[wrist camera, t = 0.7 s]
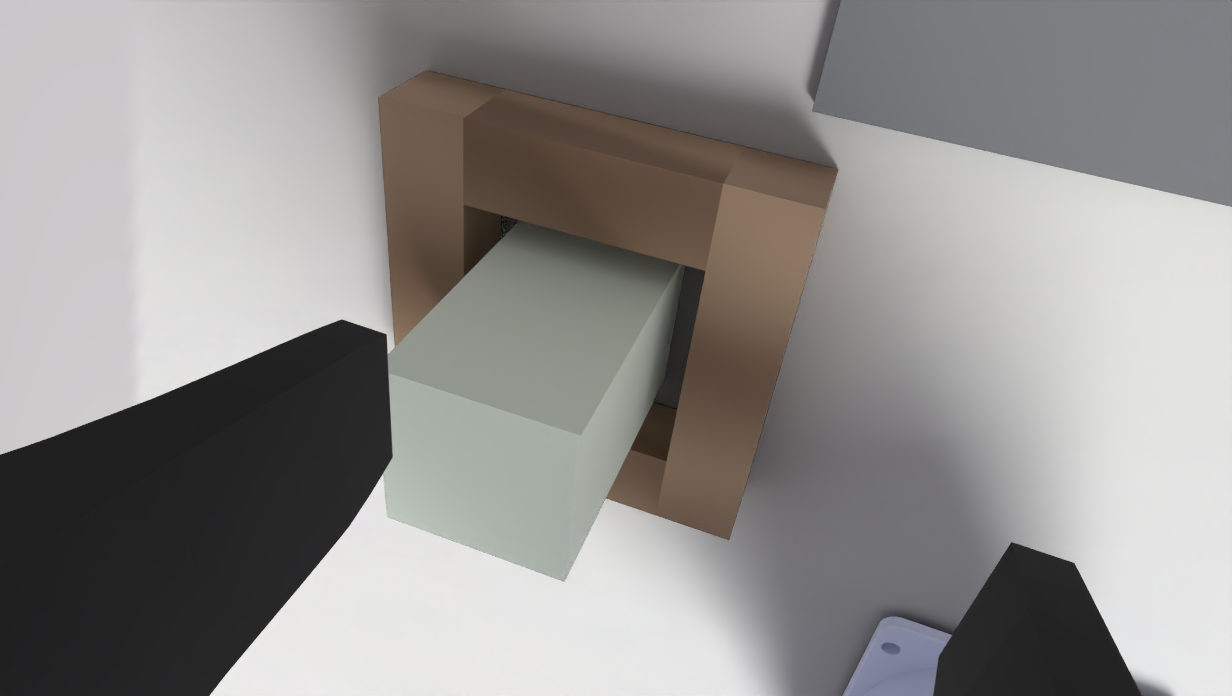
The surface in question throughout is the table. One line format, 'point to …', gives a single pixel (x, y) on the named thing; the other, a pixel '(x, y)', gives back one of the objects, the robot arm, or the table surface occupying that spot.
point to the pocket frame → (623, 217)
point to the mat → (1048, 83)
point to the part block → (528, 394)
